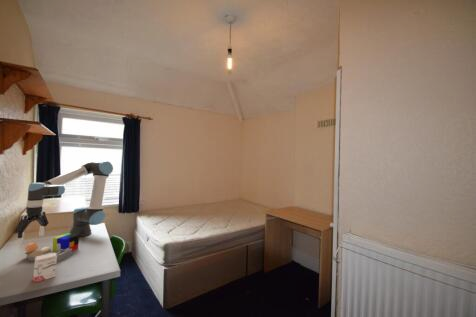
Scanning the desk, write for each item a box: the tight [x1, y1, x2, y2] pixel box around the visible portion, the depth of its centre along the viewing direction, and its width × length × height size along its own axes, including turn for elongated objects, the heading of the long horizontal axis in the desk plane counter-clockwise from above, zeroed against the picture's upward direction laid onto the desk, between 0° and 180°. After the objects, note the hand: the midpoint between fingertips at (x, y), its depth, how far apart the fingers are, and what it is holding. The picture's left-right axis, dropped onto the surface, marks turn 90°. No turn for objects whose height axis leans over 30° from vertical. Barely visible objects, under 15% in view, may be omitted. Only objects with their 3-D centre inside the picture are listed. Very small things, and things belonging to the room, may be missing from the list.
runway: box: [27, 246, 73, 263], centre depth 134 cm, size 10×20×6 cm, turn 91°
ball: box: [24, 242, 39, 253], centre depth 134 cm, size 6×6×6 cm
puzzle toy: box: [51, 232, 80, 252], centre depth 145 cm, size 10×10×10 cm
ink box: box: [32, 253, 58, 283], centre depth 111 cm, size 9×5×12 cm, turn 139°
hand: (31, 239), depth 134 cm, fingers open, 13 cm apart
